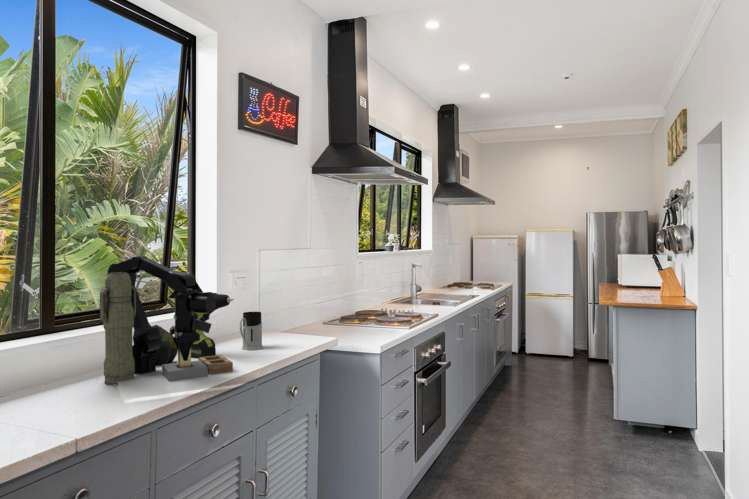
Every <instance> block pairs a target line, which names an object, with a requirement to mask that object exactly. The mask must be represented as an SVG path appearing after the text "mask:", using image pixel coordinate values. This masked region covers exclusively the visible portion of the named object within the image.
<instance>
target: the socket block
mask: <svg viewBox="0 0 749 499" xmlns="http://www.w3.org/2000/svg"><path fill="white" fill-rule="evenodd" d="M161 369H162V371H161V373H162V376H164V378H165V379H166V380H167V381H168V382H174V381H175V382H176V381H182V380H191V379H198V378H207V377H208V375H209V374H208V367H207V366H206V365H204V364H203V363H202V362H201V361H199V359H198V360H191V367H184V368H178V362H171V363H169V364H162V365H161Z"/></svg>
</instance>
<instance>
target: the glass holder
mask: <svg viewBox="0 0 749 499" xmlns="http://www.w3.org/2000/svg"><path fill="white" fill-rule="evenodd" d="M262 325H263V323H262V312H261V311H246V312H245V311H244V312H243V313H242V318H241V319H240V321H239V331H240V335H241V338H242V347H241V350H243V351H257V350H258V351H259V350H263V349H264V347H263V333H262V332H263V331H262V330H263V327H262Z"/></svg>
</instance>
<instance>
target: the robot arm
mask: <svg viewBox="0 0 749 499" xmlns="http://www.w3.org/2000/svg"><path fill="white" fill-rule="evenodd" d="M141 271H143V272H145V273H147V274H149V275H151V276H153V277H155V278H157V279H159V280H161V281H163V282H164V283H165V284H166V285H167V287H169V289H171V290H173V292H172V293H171V294H170V295H168V298H169V299H174V314H173V319H174V325H172V326H171V327H170V328H169V333H170V335H173V336H174V337H172V339H173V341H174V343H175V345H176V347H177V349H178V347H179V350H180V352H181V355H182V357H183V360H184V361H187V360H188V356H189V352H190V349H191V345H192V344H193V343H194V342H196V341H200V334H199V333H197V332H196V329H197V330H200V331H203V333H204V334H205V333H206V334H210V330H211V327H212V325H213V324H212V323H210V322H208V321H205V319H204V318H202V317H199V318H198V319H196V317H195V315H193V312H195V313H211V314H212V313H214V312H215V311H216V310H215V307H216V301H215V299H214V297H213V296H212V293H213V292H212V291H207V292H205V291H203V290H202V289H201V287H200V285H199V284H198V282H197V279H196V276H195V275H193V274H192V273H189V272H185V271H179V270H174V269H171V268H170V267H168V266H166V265H164V264H161V263H159V262H157V261H155V260H153V259H151V258H149V257H148V256H146V255H134V256H133V257H131V258H129V259H126V260H123V261H121V262H118V263H116V262H115V263H112V264H110V265H109V267H108V269H107V271H106V272H107V274H106V275H108V274H110V273H111V272H126V273H128V274H129V276H130V279H131V286H134V288H135V289H136V317H134V326H133V333H132V343H133V344H132V347H133V358H134V360H135V372H134V375H136V374H138V375H141V374H142V375H143V374H150V373H154V372H156V371H157V369H156V368H157V363H156V360H155V359H154V356H153V355H155V354H157V353H158V350H159V348H160V346H161V344H162V341H161V338H162V336H161V335H160V333H159V329H158V327H154V328H153V327H152V326H153V325H151V324H150V322H149V319H148V317H147V314H146V311H145V309H144V306H143V304H142V301H141V298H140V295H139V292H138V291H137V288H136V283H137V274H138V273H139V272H141ZM214 310H215V311H214ZM213 311H214V312H213Z"/></svg>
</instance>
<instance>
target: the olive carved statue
mask: <svg viewBox="0 0 749 499" xmlns="http://www.w3.org/2000/svg"><path fill="white" fill-rule="evenodd" d="M105 278H106V279H105V281H104V288H101V291H100V292H99V319H100V320H101V321H102V322H103V324H102V325H103V326H102V327H103V329H104V332H105V333H104V335H105V336H104V340H105V344H104V345H105V346H104V347H105V350H104V351H105V355H104V356H105V358H104V361H103V376H104V381H103V382H104V384H105V385H108V386H119V382H126V381H130V380H133V379H134V378H135V374H134V372H135V360H134V358H133V347H132V346H133V329H134V327H133V326H134V317H136V290H137V288H136V289H135V288H134V286H131V279H130V276H129V274H128V273H126V272H111V273H110V274H106V277H105Z"/></svg>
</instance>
